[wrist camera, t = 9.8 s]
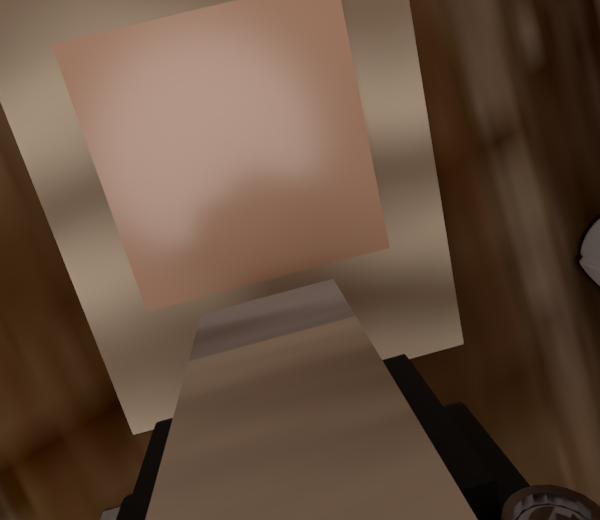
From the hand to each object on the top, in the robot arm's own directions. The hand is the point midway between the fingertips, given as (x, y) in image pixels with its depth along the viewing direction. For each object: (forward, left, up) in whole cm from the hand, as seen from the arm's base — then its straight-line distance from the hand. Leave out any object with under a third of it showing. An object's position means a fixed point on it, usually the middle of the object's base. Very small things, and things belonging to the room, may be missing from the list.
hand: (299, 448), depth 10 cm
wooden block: (0, 0, -4) cm, 4 cm away
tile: (+4, +4, -10) cm, 12 cm away
